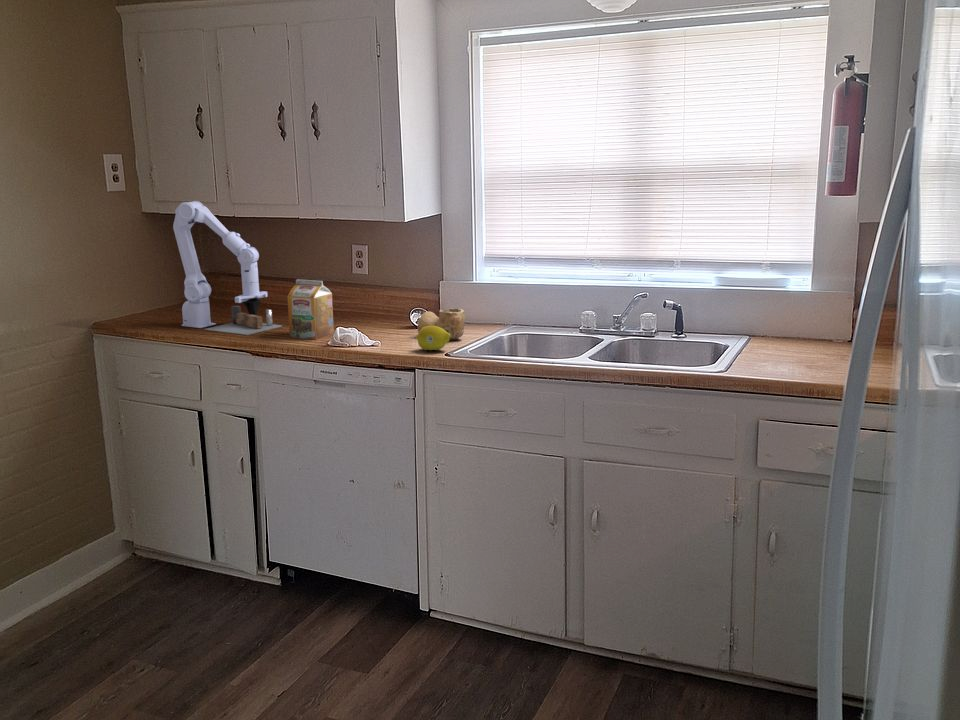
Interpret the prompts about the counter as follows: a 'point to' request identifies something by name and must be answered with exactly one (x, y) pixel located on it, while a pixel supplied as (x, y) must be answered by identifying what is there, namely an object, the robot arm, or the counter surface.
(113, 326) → the counter surface
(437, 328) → the lemon
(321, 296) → the milk carton
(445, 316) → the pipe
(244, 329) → the mat
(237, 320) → the bar
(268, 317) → the hitch post
